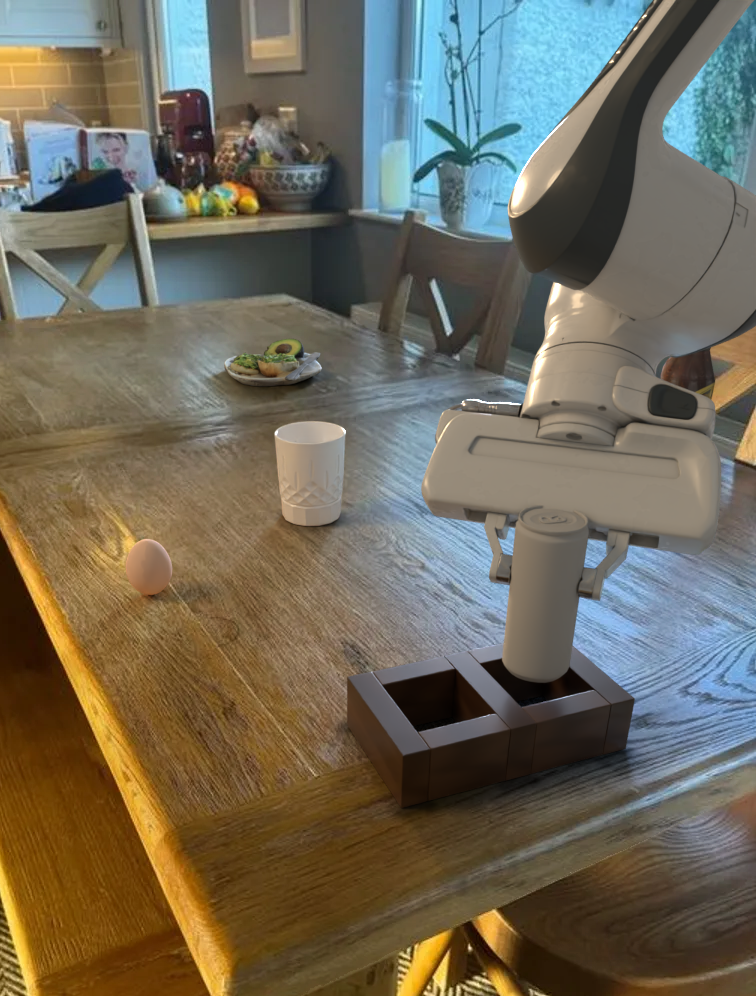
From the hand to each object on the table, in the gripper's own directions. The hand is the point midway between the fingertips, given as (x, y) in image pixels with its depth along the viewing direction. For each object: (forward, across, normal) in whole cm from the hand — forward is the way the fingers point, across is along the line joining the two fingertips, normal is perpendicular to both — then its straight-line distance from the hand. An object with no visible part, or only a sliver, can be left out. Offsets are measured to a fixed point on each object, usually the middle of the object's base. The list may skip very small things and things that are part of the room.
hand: (544, 589), depth 62 cm
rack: (+10, -3, +7) cm, 13 cm away
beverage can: (+4, 0, +5) cm, 7 cm away
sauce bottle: (-33, +6, +50) cm, 61 cm away
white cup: (-14, -31, +31) cm, 46 cm away
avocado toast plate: (-53, -62, +70) cm, 108 cm away
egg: (+3, -38, +15) cm, 41 cm away
